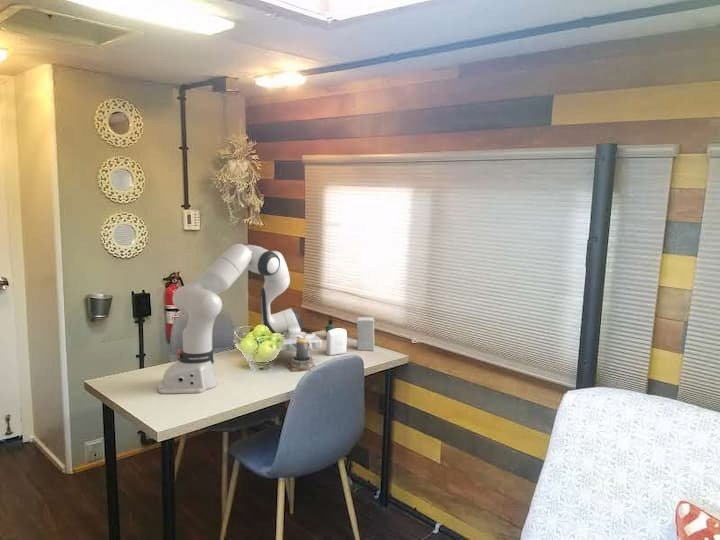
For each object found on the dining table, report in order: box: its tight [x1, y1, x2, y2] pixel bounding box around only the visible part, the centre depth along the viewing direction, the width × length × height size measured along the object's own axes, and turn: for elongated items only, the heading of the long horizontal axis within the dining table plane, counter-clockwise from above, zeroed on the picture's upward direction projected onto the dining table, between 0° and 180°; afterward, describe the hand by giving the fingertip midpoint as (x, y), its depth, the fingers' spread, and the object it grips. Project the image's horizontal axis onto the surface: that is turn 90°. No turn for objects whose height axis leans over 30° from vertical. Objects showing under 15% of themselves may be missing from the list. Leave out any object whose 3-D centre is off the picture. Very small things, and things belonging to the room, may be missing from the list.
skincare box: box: [356, 316, 376, 351], centre depth 269 cm, size 8×7×16 cm
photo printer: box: [325, 327, 348, 356], centre depth 261 cm, size 10×4×12 cm, turn 123°
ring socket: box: [286, 355, 316, 373], centre depth 240 cm, size 11×11×4 cm
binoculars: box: [324, 317, 335, 340], centre depth 288 cm, size 9×11×10 cm
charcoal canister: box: [295, 338, 309, 361], centre depth 239 cm, size 5×5×11 cm
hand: (302, 349), depth 238 cm, fingers closed on charcoal canister, 5 cm apart
